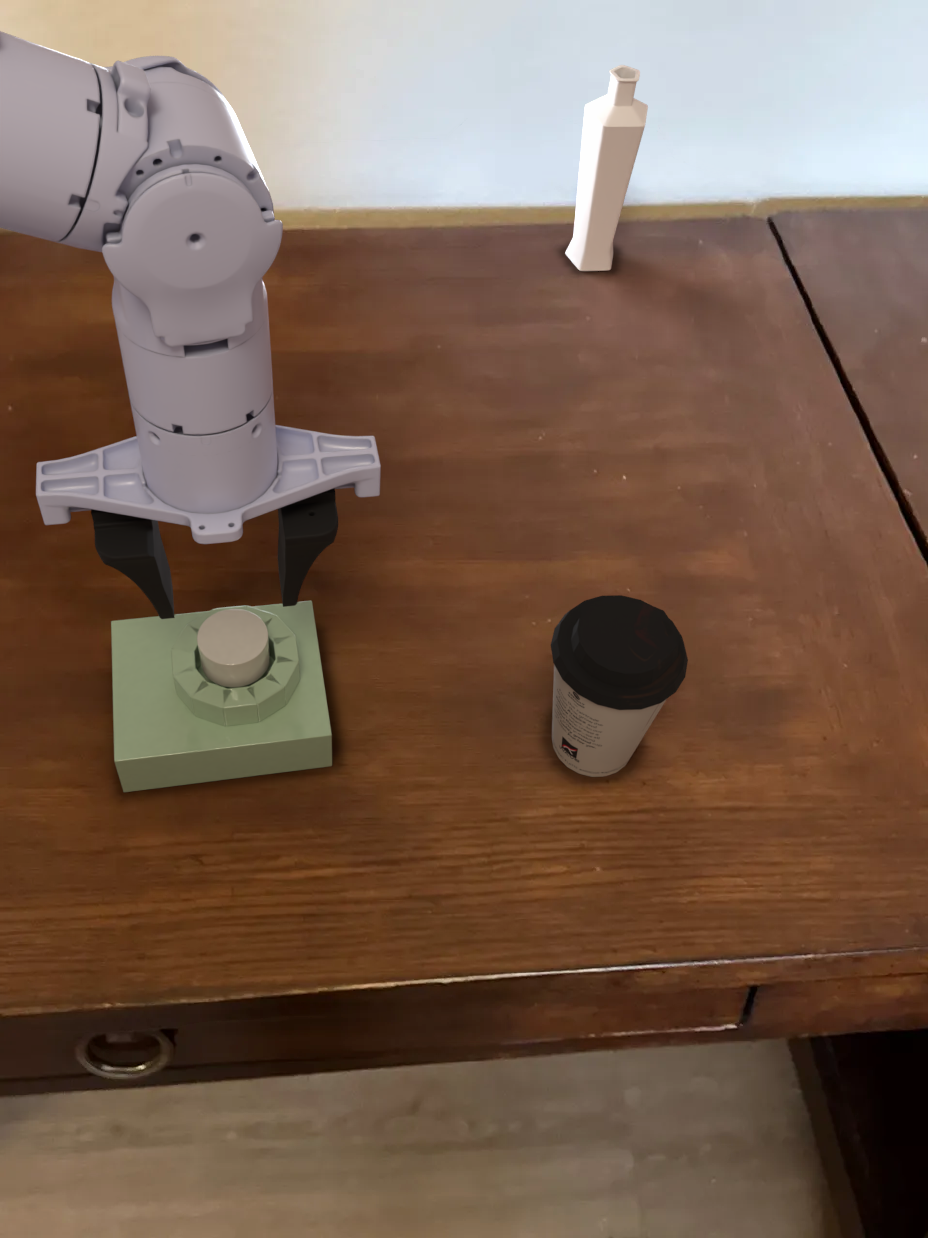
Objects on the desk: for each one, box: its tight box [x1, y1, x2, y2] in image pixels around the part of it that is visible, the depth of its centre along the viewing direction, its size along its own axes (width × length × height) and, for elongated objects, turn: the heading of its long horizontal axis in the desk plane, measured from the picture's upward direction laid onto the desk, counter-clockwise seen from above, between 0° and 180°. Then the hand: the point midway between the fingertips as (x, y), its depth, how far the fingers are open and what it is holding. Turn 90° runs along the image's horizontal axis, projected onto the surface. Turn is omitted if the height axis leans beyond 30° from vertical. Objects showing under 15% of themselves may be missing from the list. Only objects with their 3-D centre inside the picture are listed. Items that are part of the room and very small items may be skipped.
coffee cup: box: [550, 594, 689, 778], centre depth 64 cm, size 7×7×10 cm
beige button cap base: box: [110, 600, 333, 793], centre depth 65 cm, size 11×9×5 cm
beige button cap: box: [197, 609, 270, 687], centre depth 63 cm, size 4×4×2 cm
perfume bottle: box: [564, 64, 649, 272], centre depth 89 cm, size 5×4×15 cm
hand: (227, 596), depth 60 cm, fingers open, 5 cm apart
